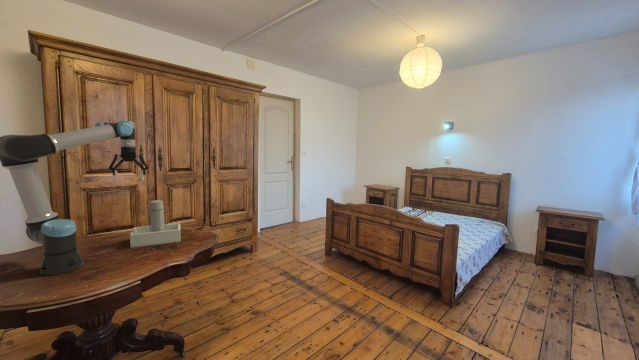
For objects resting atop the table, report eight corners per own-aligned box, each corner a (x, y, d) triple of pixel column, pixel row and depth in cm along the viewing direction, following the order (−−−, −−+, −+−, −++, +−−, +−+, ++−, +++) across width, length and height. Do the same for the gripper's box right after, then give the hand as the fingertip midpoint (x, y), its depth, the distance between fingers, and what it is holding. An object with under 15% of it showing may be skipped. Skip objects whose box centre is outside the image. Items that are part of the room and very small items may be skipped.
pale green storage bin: (130, 247, 156) (129, 234, 155) (134, 239, 171) (134, 227, 170) (180, 241, 169) (180, 229, 168) (180, 234, 183) (180, 223, 182)
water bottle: (167, 237, 173) (166, 200, 170) (159, 241, 165) (157, 202, 162) (154, 236, 174) (153, 199, 171) (145, 240, 166) (143, 202, 163)
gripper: (100, 145, 153) (103, 181, 156) (151, 147, 165) (152, 180, 167) (104, 145, 160) (106, 180, 162) (152, 147, 172) (153, 179, 174)
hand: (129, 180), depth 165 cm, fingers open, 13 cm apart
